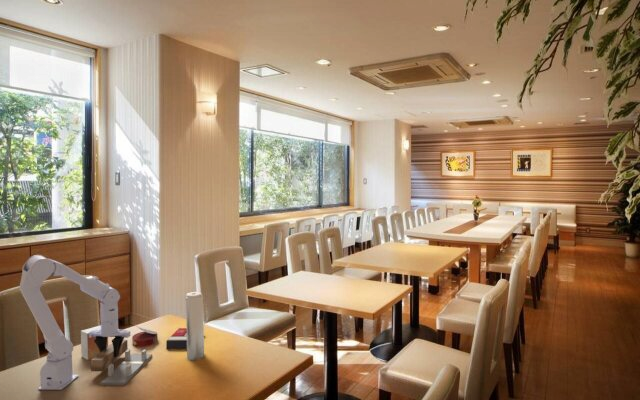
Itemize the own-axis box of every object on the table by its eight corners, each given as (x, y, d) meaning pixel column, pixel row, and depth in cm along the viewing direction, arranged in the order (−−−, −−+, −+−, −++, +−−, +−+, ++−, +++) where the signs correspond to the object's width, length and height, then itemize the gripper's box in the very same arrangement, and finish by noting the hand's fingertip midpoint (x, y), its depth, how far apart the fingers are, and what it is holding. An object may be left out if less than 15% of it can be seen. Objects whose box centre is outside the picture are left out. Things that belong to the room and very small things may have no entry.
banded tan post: (102, 371, 143) (102, 360, 143) (90, 371, 143) (90, 359, 143) (127, 349, 161) (127, 339, 161) (117, 349, 161) (117, 339, 161)
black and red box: (203, 327, 182) (193, 338, 167) (203, 336, 182) (193, 349, 167) (178, 327, 182) (166, 339, 167) (178, 337, 182) (166, 349, 167)
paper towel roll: (199, 361, 156) (197, 296, 155) (183, 359, 157) (182, 295, 156) (207, 354, 162) (206, 291, 161) (192, 352, 164) (190, 290, 162)
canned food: (136, 350, 177) (137, 326, 181) (160, 347, 178) (161, 323, 182) (126, 348, 166) (127, 323, 170) (152, 344, 167) (152, 319, 171)
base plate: (124, 385, 138) (123, 372, 138) (100, 385, 138) (100, 372, 138) (152, 356, 160) (151, 345, 160) (131, 356, 160) (131, 345, 160)
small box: (87, 360, 157) (86, 333, 156) (81, 356, 160) (80, 330, 159) (109, 353, 163) (108, 327, 162) (102, 349, 166) (101, 324, 166)
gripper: (133, 316, 155) (134, 351, 156) (95, 316, 155) (96, 351, 156) (124, 322, 148) (125, 359, 149) (84, 322, 148) (86, 359, 149)
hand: (110, 355), depth 152 cm, fingers closed on banded tan post, 4 cm apart
